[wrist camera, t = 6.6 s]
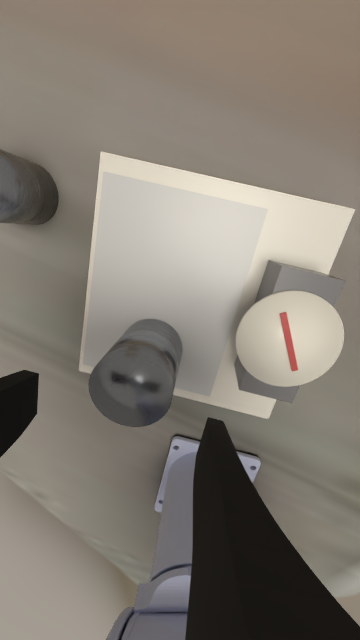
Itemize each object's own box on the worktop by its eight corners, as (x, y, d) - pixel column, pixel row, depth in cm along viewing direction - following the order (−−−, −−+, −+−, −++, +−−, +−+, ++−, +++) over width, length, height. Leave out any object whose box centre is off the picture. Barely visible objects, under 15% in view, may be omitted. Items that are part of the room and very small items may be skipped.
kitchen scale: (267, 396, 21) (290, 460, 15) (95, 352, 22) (52, 398, 16) (339, 215, 17) (413, 204, 11) (119, 165, 17) (69, 127, 11)
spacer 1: (56, 230, 19) (5, 228, 14) (4, 217, 19) (-64, 212, 14) (60, 169, 17) (5, 145, 13) (4, 155, 18) (-72, 127, 13)
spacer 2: (174, 381, 17) (161, 436, 13) (117, 365, 18) (83, 414, 13) (189, 328, 16) (181, 366, 11) (127, 311, 16) (94, 343, 12)
